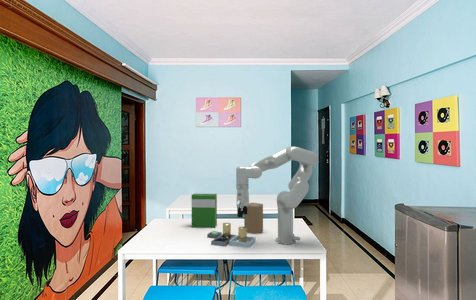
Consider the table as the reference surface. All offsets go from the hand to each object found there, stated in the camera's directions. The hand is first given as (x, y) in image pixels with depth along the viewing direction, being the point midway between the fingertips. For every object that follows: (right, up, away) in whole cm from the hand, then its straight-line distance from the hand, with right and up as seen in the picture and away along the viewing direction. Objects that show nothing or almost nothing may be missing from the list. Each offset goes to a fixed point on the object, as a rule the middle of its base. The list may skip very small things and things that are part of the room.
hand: (242, 215), depth 189 cm
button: (-18, -17, +14) cm, 28 cm away
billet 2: (0, -17, 0) cm, 17 cm away
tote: (0, -18, 0) cm, 18 cm away
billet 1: (-10, -17, +8) cm, 21 cm away
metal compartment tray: (-11, -18, +4) cm, 22 cm away
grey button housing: (-18, -18, +14) cm, 29 cm away
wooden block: (+8, -18, +27) cm, 33 cm away
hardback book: (-28, -18, +44) cm, 55 cm away
